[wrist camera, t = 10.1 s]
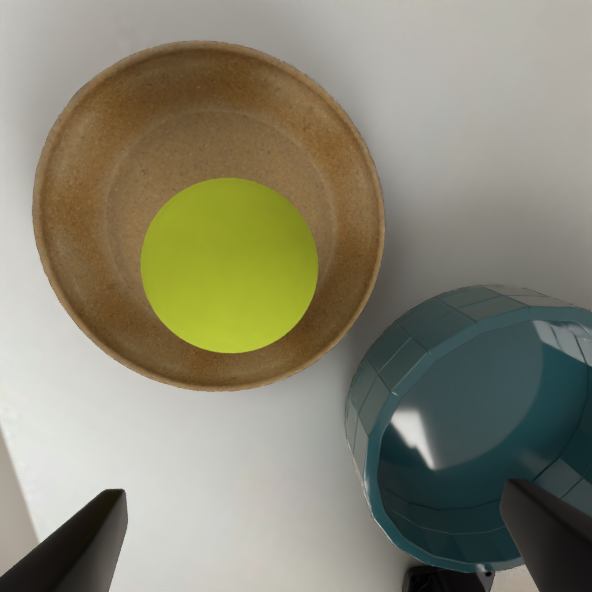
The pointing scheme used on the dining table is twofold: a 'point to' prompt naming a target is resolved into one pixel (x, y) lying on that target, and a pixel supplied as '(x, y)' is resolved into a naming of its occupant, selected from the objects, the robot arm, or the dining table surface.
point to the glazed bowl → (472, 420)
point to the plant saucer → (191, 170)
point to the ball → (229, 265)
